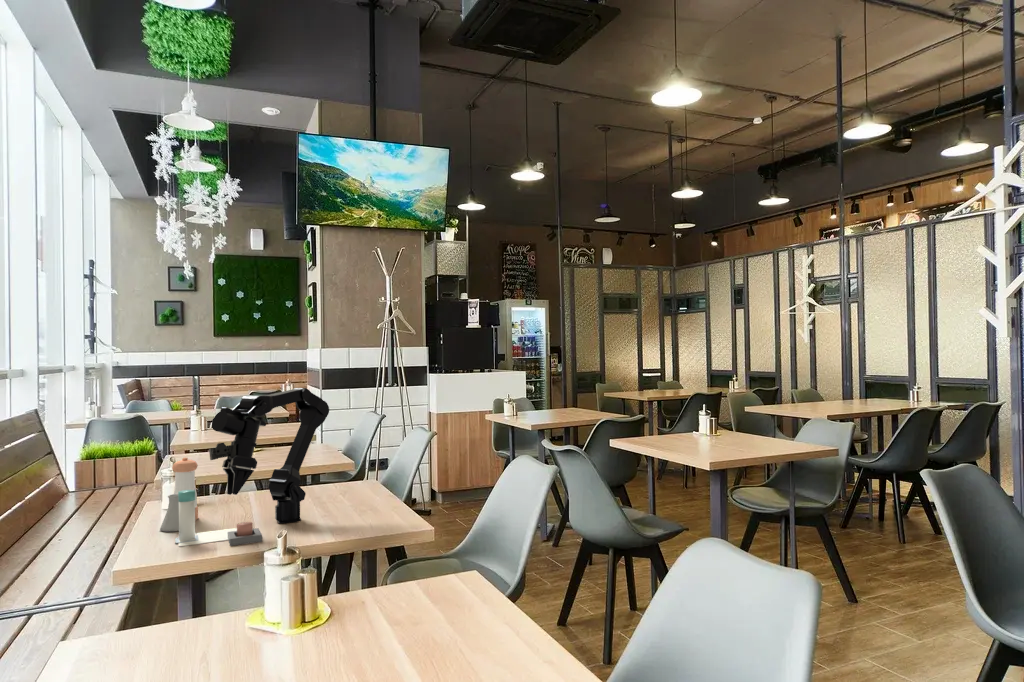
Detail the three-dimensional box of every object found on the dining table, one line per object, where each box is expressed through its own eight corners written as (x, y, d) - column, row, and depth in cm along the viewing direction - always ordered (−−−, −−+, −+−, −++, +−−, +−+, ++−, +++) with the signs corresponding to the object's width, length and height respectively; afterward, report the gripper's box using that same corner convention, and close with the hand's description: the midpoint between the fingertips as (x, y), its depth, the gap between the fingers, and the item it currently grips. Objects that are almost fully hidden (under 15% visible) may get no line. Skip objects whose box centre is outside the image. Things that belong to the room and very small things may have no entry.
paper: (239, 528, 190) (239, 527, 190) (243, 538, 179) (243, 537, 179) (175, 536, 182) (175, 535, 182) (175, 547, 171) (175, 545, 171)
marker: (197, 536, 181) (197, 489, 181) (193, 540, 176) (193, 492, 177) (181, 537, 180) (180, 490, 180) (176, 541, 176) (176, 493, 176)
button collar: (258, 534, 183) (258, 528, 183) (262, 541, 176) (262, 534, 176) (227, 538, 179) (227, 531, 179) (230, 545, 172) (230, 539, 172)
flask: (176, 533, 186) (176, 498, 186) (154, 532, 187) (154, 497, 187) (193, 526, 193) (193, 492, 193) (172, 525, 194) (172, 492, 194)
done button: (251, 532, 180) (251, 521, 180) (253, 535, 177) (253, 524, 177) (236, 534, 178) (236, 523, 178) (237, 537, 175) (237, 526, 175)
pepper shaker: (202, 516, 204) (202, 455, 205) (189, 522, 197) (189, 459, 198) (181, 516, 205) (181, 455, 205) (166, 522, 198) (166, 459, 198)
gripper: (211, 435, 188) (196, 490, 183) (220, 430, 173) (205, 490, 168) (250, 442, 193) (237, 496, 189) (263, 438, 178) (249, 496, 173)
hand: (231, 494), depth 180 cm, fingers open, 9 cm apart
